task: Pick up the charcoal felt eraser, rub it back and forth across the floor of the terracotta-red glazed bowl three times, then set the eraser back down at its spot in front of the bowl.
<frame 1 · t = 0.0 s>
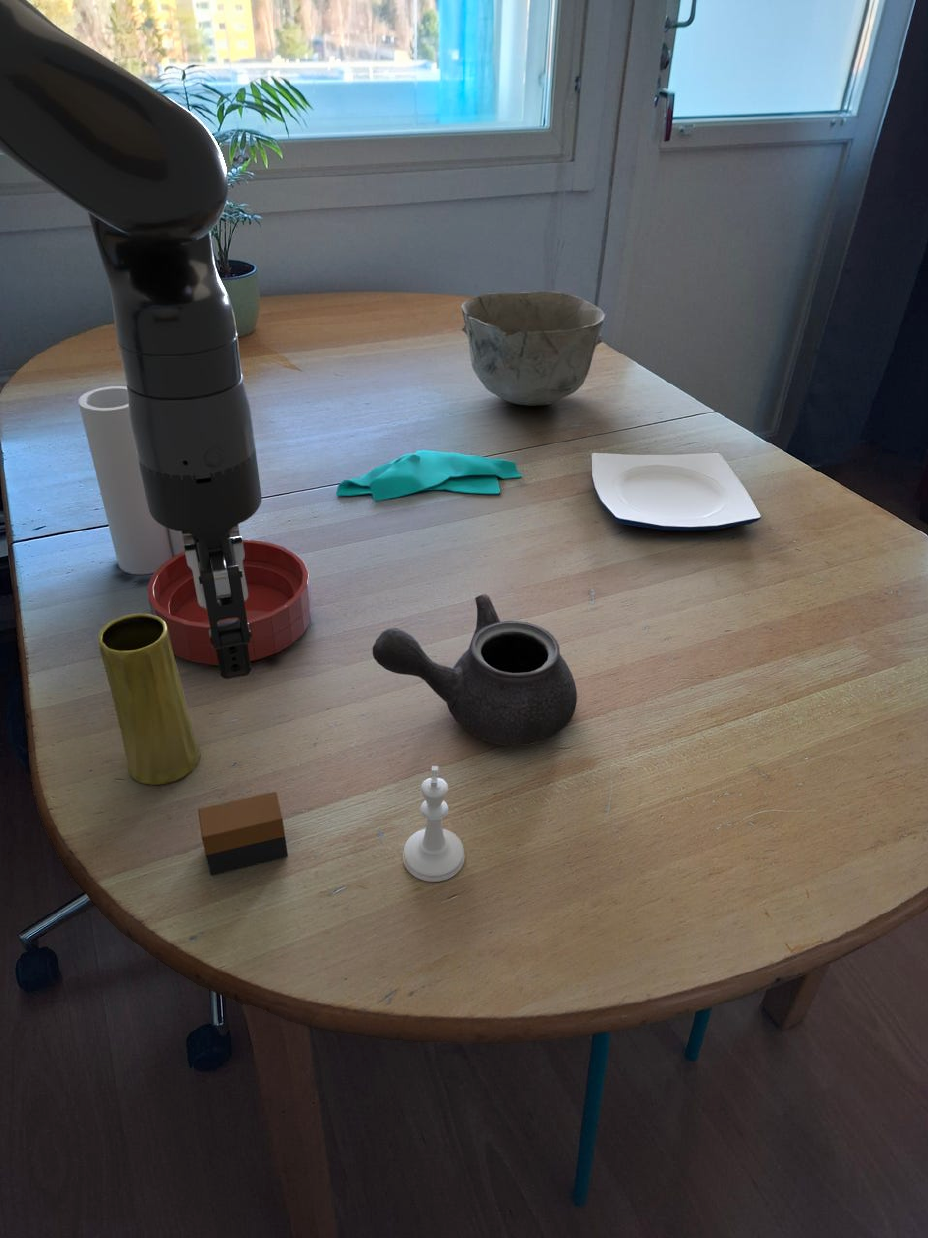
hand: (229, 640, 67), 15 cm above the table, tool pointing down, fingers open, 8 cm apart
teapot: (473, 706, 84), on the table
cloth: (429, 476, 123), on the table
plate: (667, 502, 118), on the table
chess piece: (433, 858, 70), on the table
red bowl: (236, 622, 94), on the table
vase: (164, 762, 77), on the table
eraser: (247, 851, 69), on the table
vase 2: (168, 556, 104), on the table
bowl: (527, 400, 146), on the table
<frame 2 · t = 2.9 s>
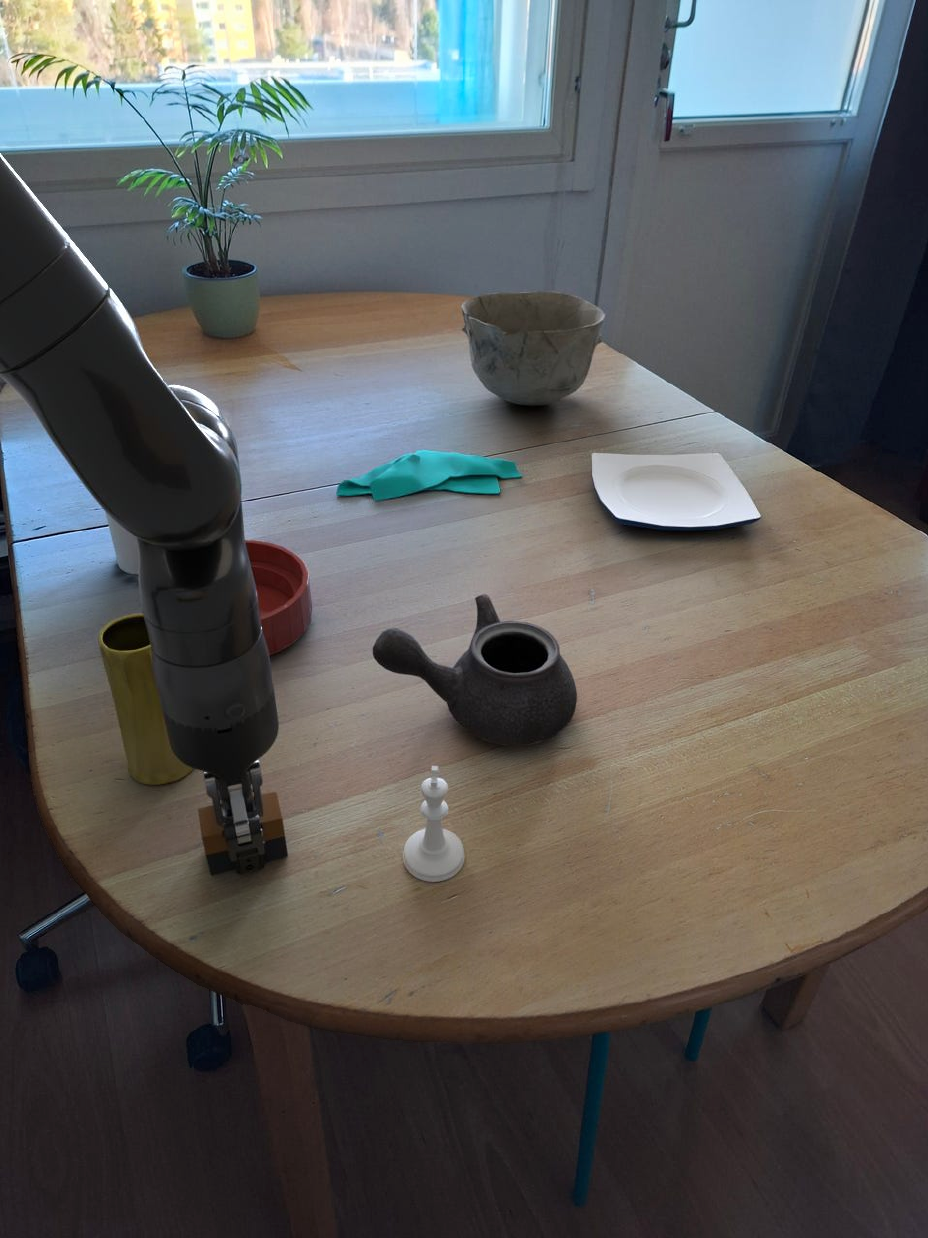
hand: (247, 850, 69), 0 cm above the table, tool pointing down, fingers closed on eraser, 3 cm apart
eraser: (247, 851, 69), on the table, touching gripper
everything else where it was.
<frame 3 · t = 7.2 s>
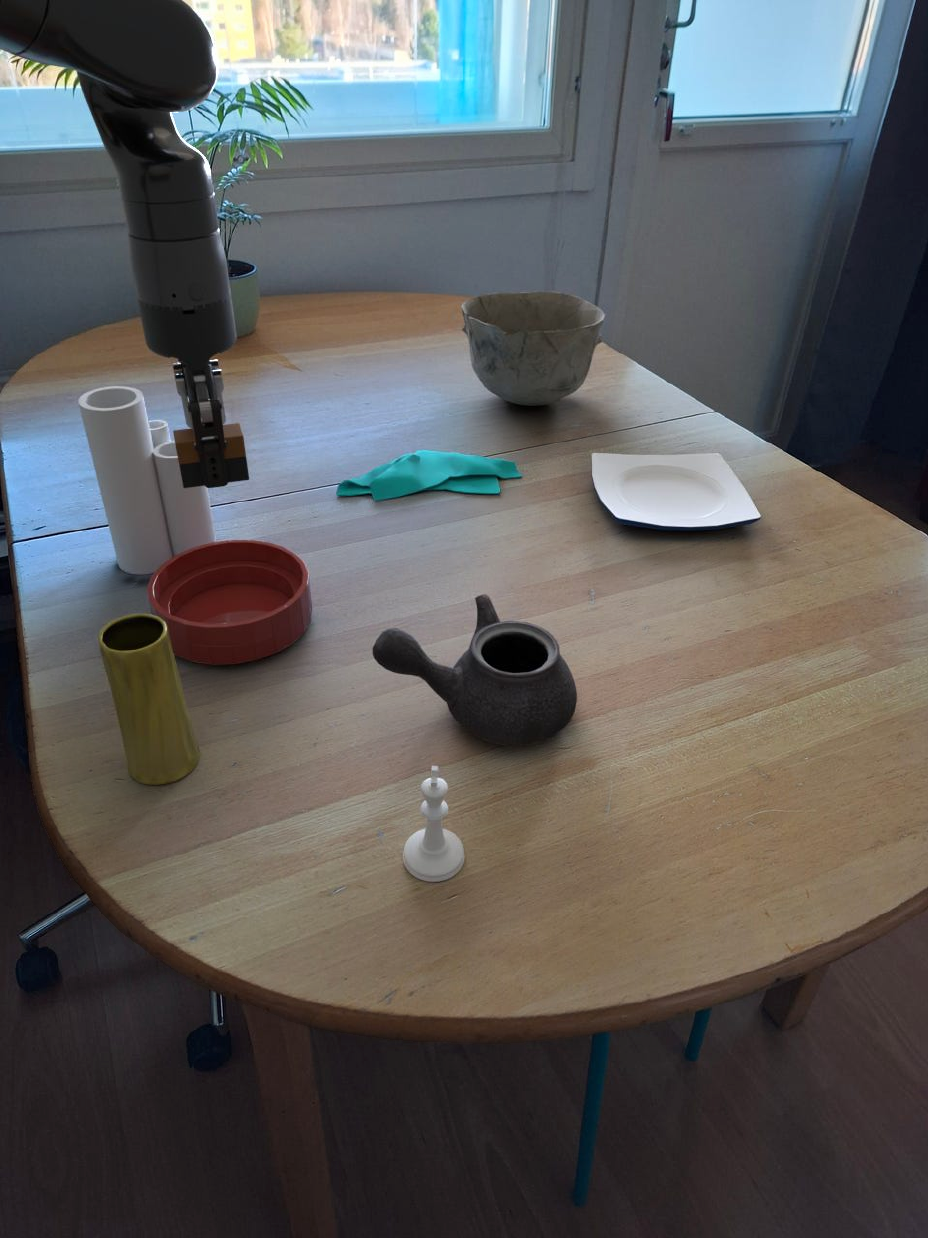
hand: (214, 476, 82), 18 cm above the table, tool pointing down, fingers closed on eraser, 3 cm apart
eraser: (215, 477, 82), point 18 cm above the table, touching gripper
everything else where it was.
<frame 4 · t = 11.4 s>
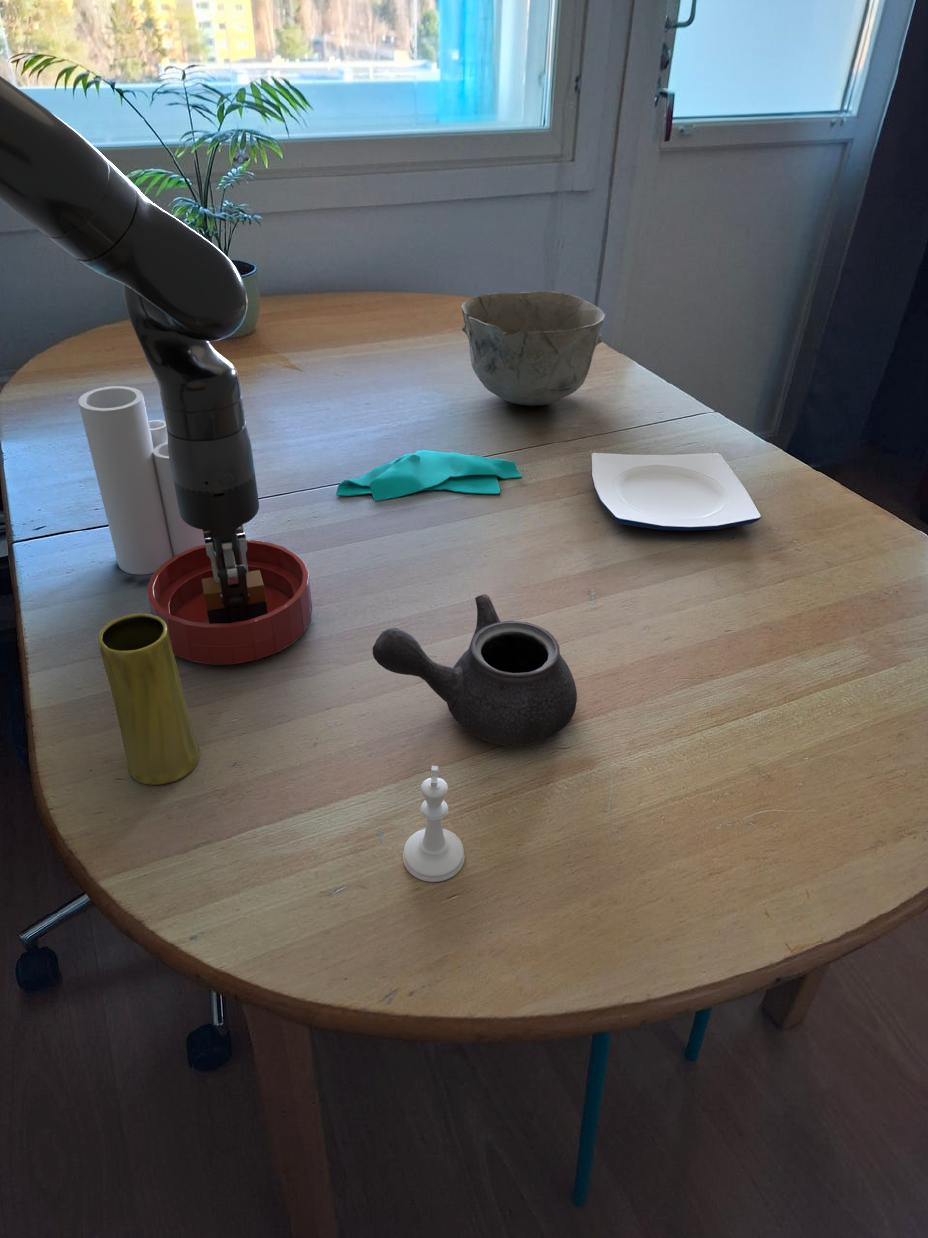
hand: (237, 616, 93), 1 cm above the table, tool pointing down, fingers closed on eraser, 3 cm apart
eraser: (238, 616, 93), point 1 cm above the table, touching gripper
everything else where it was.
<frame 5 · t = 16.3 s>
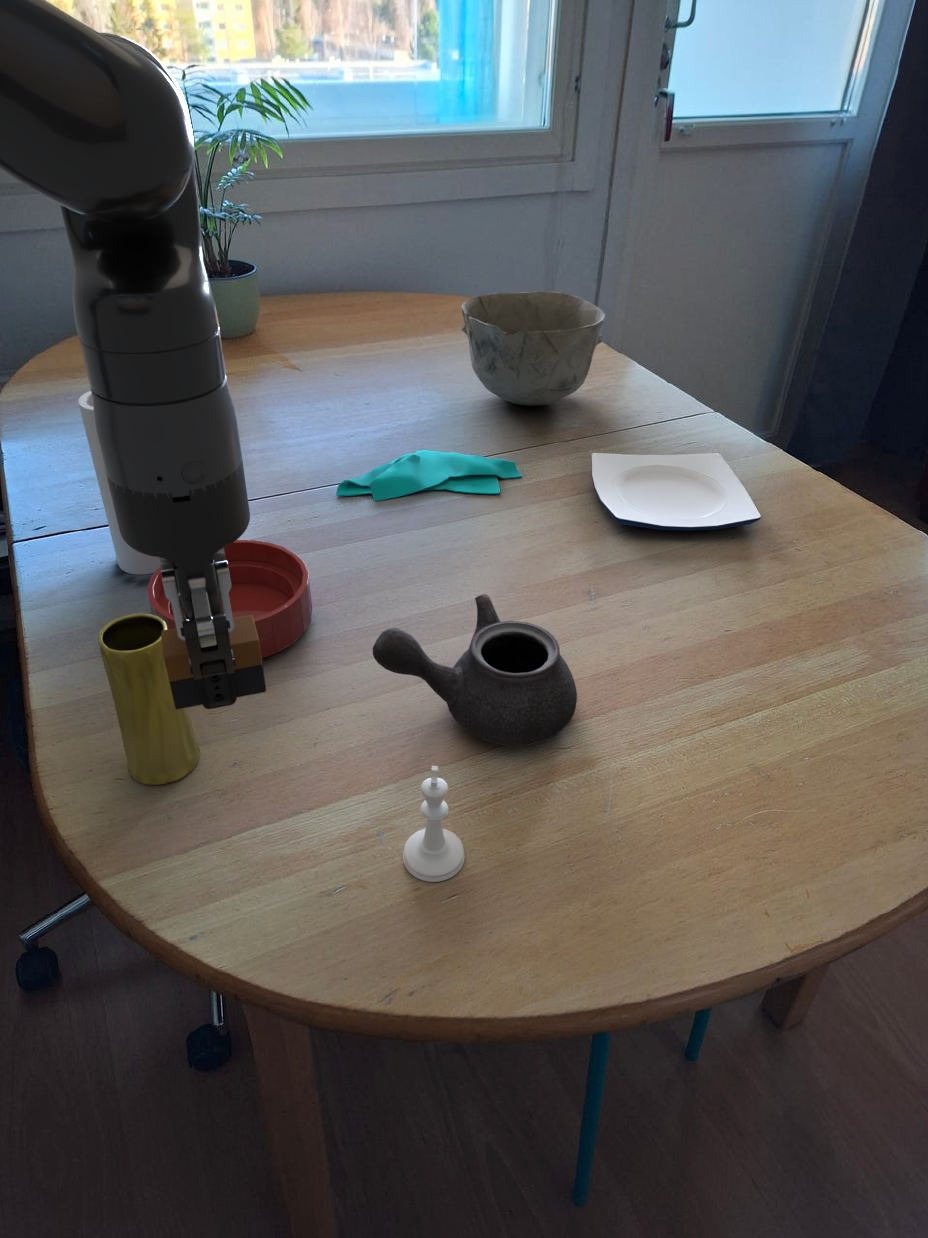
hand: (216, 686, 60), 17 cm above the table, tool pointing down, fingers closed on eraser, 3 cm apart
eraser: (219, 687, 60), point 17 cm above the table, touching gripper
everything else where it was.
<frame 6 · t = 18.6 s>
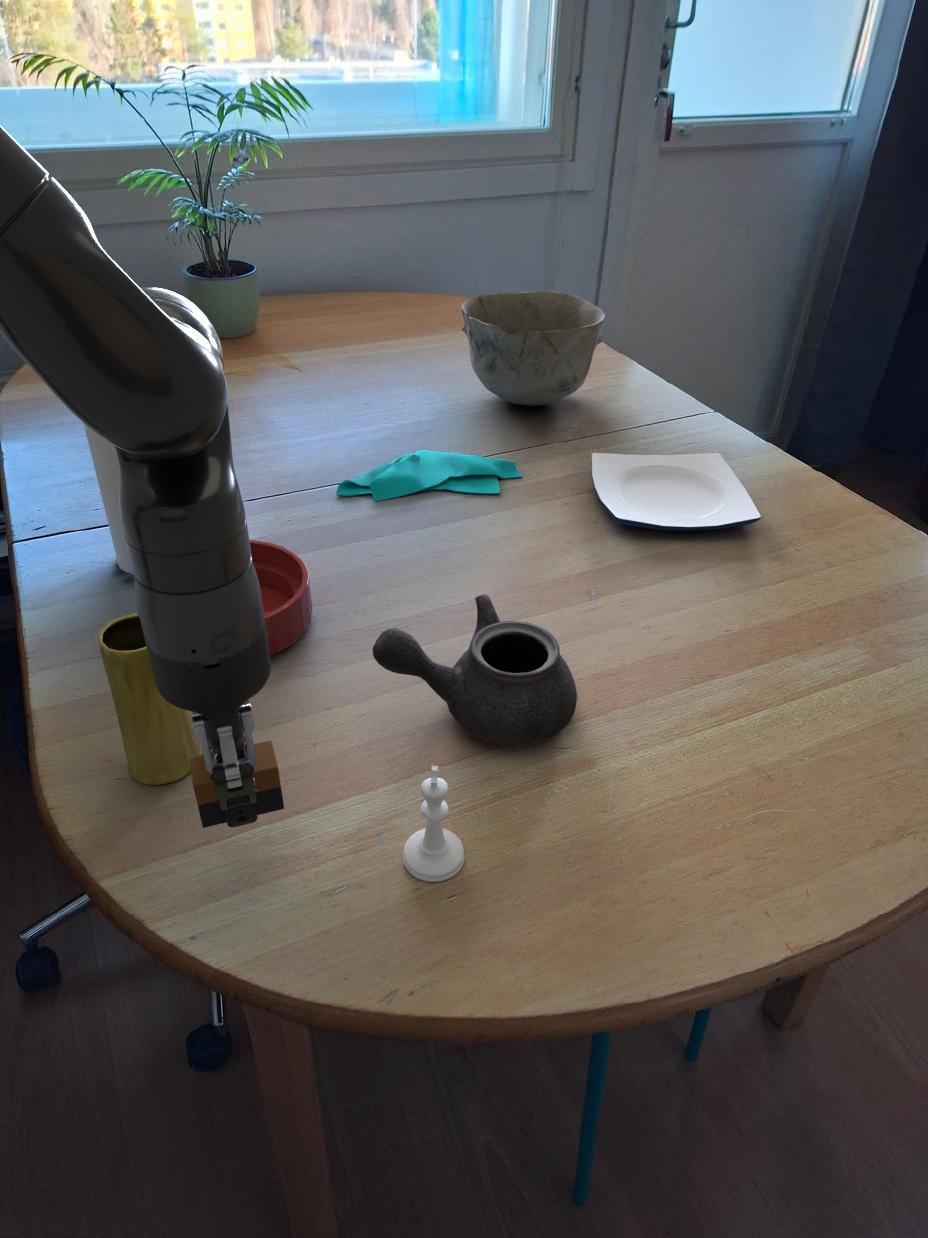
hand: (239, 803, 66), 6 cm above the table, tool pointing down, fingers closed on eraser, 3 cm apart
eraser: (241, 804, 66), point 5 cm above the table, touching gripper
everything else where it was.
when the fingers open (0 cm above the table, at t = 20.2 s): eraser stays where it is, on the table.
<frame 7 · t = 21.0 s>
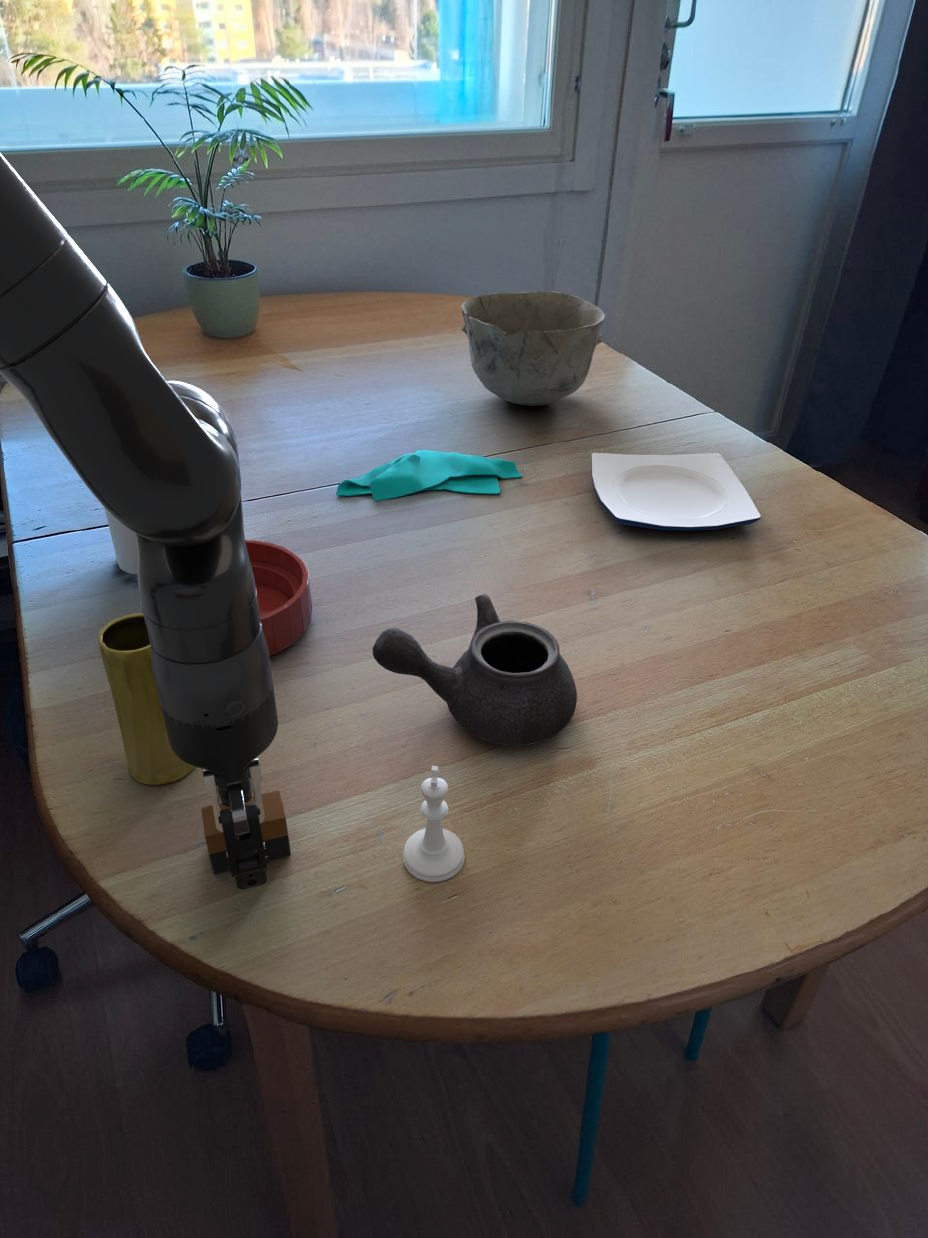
hand: (244, 840, 69), 1 cm above the table, tool pointing down, fingers open, 8 cm apart
eraser: (250, 850, 70), on the table
everything else where it was.
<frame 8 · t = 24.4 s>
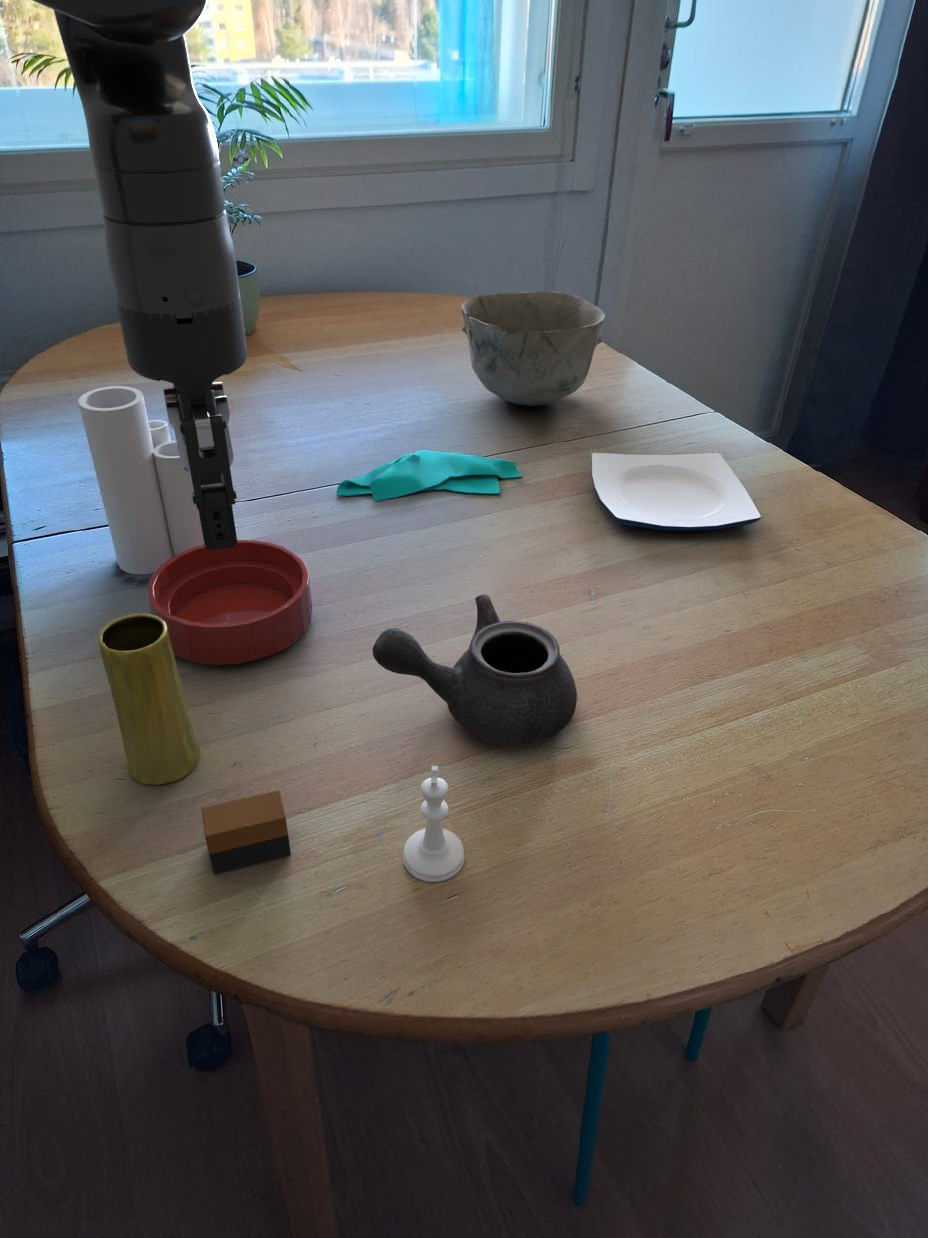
hand: (214, 517, 64), 24 cm above the table, tool pointing down, fingers open, 8 cm apart
nothing on the table moved.
at the end: eraser tilted 0°; the gripper is holding nothing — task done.
